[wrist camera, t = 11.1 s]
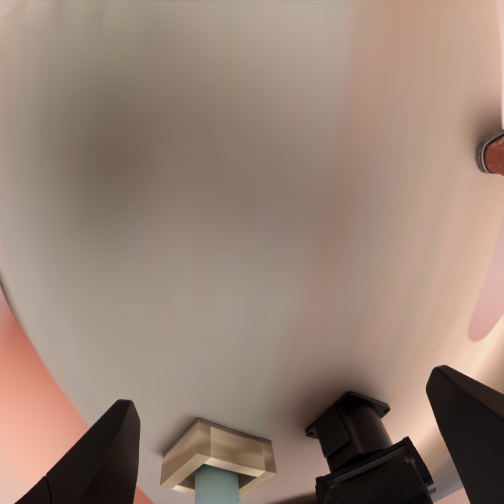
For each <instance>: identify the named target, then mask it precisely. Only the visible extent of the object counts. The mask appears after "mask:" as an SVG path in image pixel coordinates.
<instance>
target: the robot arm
mask: <svg viewBox="0 0 504 504" xmlns="http://www.w3.org/2000/svg"><path fill="white" fill-rule="evenodd" d="M426 393H427V396H428V399H429V401H430V404H431V407H432V410H433V413H434V416H435V419H436V422H437V425H438V427H439V430H440V432H441V435H442V437H443V439H444V441H445V443H446V446H447V448H448V450H449V453H450V455H451V457H452V459H453V462H454V464H455V466H456V469H457V471H458V474H459V476H460V478H461V481H462V483H463V486H464V488H465V491H466V493H467V496H468V499H469V501H470V504H504V394H502V393H500V392H498V391H496V390H494V389H492V388H490V387H488V386H486V385H484V384H482V383H480V382H478V381H476V380H474V379H472V378H470V377H468V376H466V375H464V374H462V373H460V372H459V371H457V370H455V369H453V368H451V367H449V366H447V365H441V366H437V367H435V368H434V369H433V370H432V372H431V375H430V377H429V380H428V382H427V385H426ZM389 411H390V407H389V405H387V404H384V403H381V402H378V401H376V400H373V399H370V398H367V397H365V396H362V395H359V394H357V393H354V392H347V393H346V394H345V395H343V396H342V397H341V398H340V399H339V400H338V401H337V402H336V403H335V404H334V405H333V406H332V407H331V408H330V409H329V410H327V411H326V412H325V413H324V414H323V415H322V416H321V417H320V418H319V419H317V420H316V421H315V422H314V423H313V424H312V425H311V426H309V427H308V428H307V429H306V430H305V434H306V436H308V437H312V438H316V439H319V442H320V445H321V449H322V452H323V455H324V457H325V458H326V459H327V463H328V466H329V469H330V472H331V473H330V474H327V475H325V476H319V477H317V478H316V485H315V489H316V496H317V504H433V502H432V500H431V497H430V496H431V495H433V494H434V493H436V488H435V485H434V482H433V480H432V477H431V475H430V473H429V471H428V469H427V467H426V465H425V463H424V462H423V460H422V458H421V457H420V455H419V453H418V452H417V450H416V448H415V447H414V445H413V443H412V442H411V440H410V438H409V437H408V436H407V437H405V438H403V440H401V441H400V442H398V443H396V444H394V445H393V443H392V441H391V439H390V437H389V435H388V433H387V431H386V429H385V427H384V425H383V423H382V421H381V418H382V417H384V416H385V415H386V414H387V413H388V412H389ZM139 440H140V418H139V416H138V413H137V411H136V408H135V405H134V403H133V401H132V400H124V399H119V400H117V401H116V402H115V403H114V404H113V405H112V406H111V407H110V408H109V409H108V410H107V411H106V412H105V413H104V414H103V415H102V416H101V418H100V419H99V420H98V421H97V422H96V423H95V424H94V425H93V426H92V427H91V428H90V429H89V430H88V431H87V432H86V433H85V434H84V435H83V436H82V437H81V438H80V439H79V440H78V441H77V442H76V443H75V445H74V446H73V447H72V448H71V449H70V450H69V451H68V452H67V453H66V454H65V455H64V456H63V457H62V458H61V459H60V460H59V461H58V462H57V463H56V464H55V465H54V466H53V467H52V468H51V469H50V470H49V471H48V472H47V474H46V476H43V477H42V479H41V480H40V481H39V482H38V483H37V484H36V485H35V486H34V487H33V488H31V489H30V490H29V491H28V492H27V493H26V494H25V495H24V496H23V497H22V498H20V499H19V500H18V501H17V502H16V503H14V504H133V501H134V494H135V488H136V482H137V475H138V464H139Z"/></svg>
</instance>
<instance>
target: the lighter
mask: <svg viewBox="0 0 504 504" xmlns="http://www.w3.org/2000/svg"><path fill="white" fill-rule="evenodd" d="M475 159H476V163H477V166H478V168H479V170H480V171H481V172H484V173H487V174H491V175H496V174H500V175H503V176H504V130H500V131H498V132H495V133H493V134H491V135H489V136H488V137H486V138H484V139H483V140H481V141H480V142H479V143H478V145H477V147H476V152H475Z"/></svg>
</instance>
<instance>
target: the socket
mask: <svg viewBox="0 0 504 504" xmlns="http://www.w3.org/2000/svg"><path fill="white" fill-rule="evenodd" d="M202 464H208V465H211V466H215V467H218V468H222V469H226V470H230V471H234V472H238V483H239V495H240V497H242V496H244V495H245V494H247V493H248V492H250V491H252V490H253V489H255V488H256V487H258V486H259V485H261V484H262V483H264V482H265V481H267V480H268V479H270V478H271V477H273V476H274V475H275V474H277V472H276V466H275V460H274V454H273V449H272V443H271V441H268V440H264V439H261V438H257V437H254V436H251V435H247V434H244V433H241V432H238V431H235V430H232V429H229V428H226V427H223V426H220V425H217V424H214V423H211V422H208V421H206V420H203V419H200V418H198V419H197V420H196V421H195V422H194V423H193V424H192V425H191V426H190V427H189V428H188V429H187V430H186V432H185V433H184V434H183V435H182V436H181V437H180V438H179V439H178V440H177V441H176V442H175V443H174V444H173V445H172V446H171V447H170V448H169V449H168V450H167V451H166V452H165V453H164V454H163V461H162V471H161V481H160V486H163V487H167V488H170V489H174V490H177V491H181V492H184V493H188V494H192V495H195V470H196V469H198V468H199V467H200V466H201V465H202Z"/></svg>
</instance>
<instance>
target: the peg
mask: <svg viewBox="0 0 504 504" xmlns="http://www.w3.org/2000/svg"><path fill="white" fill-rule="evenodd" d="M195 504H240V495H239V483H238V472H234V471H230V470H226V469H222V468H218V467H215V466H211V465H208V464H202V465H201V466H200V467H199V468H198V469H196V470H195Z"/></svg>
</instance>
